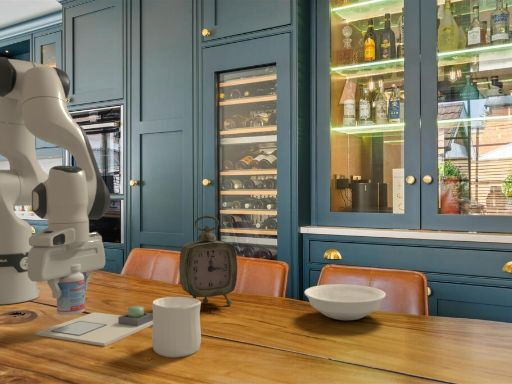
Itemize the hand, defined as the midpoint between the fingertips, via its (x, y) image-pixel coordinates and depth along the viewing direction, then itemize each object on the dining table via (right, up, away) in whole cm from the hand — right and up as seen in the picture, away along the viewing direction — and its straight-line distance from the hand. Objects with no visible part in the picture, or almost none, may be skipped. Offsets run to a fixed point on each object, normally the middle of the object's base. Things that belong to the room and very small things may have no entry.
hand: (70, 294), depth 107 cm
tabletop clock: (+30, -8, +21) cm, 37 cm away
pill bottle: (0, -5, 0) cm, 5 cm away
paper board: (+6, -8, 0) cm, 10 cm away
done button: (+14, -6, +3) cm, 16 cm away
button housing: (+14, -8, +3) cm, 17 cm away
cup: (+27, -8, -14) cm, 32 cm away
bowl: (+65, -8, +7) cm, 66 cm away
